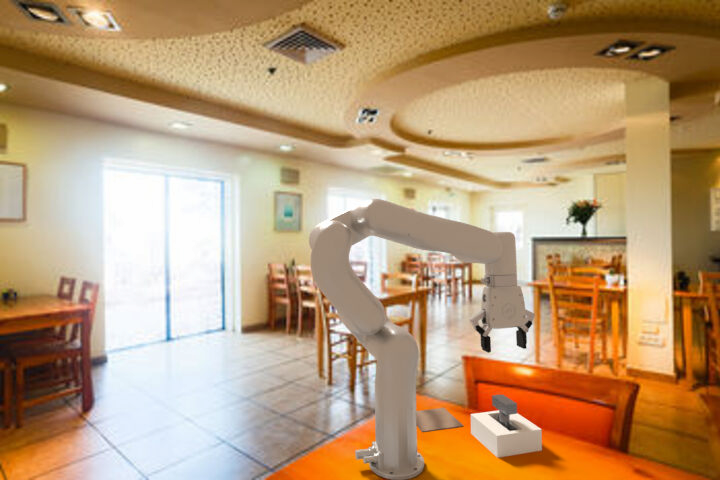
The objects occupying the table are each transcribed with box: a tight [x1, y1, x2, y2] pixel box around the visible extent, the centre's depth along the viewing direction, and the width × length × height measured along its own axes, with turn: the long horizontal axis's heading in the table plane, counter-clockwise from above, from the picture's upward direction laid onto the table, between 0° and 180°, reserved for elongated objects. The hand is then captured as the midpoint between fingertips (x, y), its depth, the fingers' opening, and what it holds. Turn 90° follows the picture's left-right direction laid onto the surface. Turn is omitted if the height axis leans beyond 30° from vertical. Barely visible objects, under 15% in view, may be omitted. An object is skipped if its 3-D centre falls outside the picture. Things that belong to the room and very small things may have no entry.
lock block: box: [470, 409, 543, 458], centre depth 98 cm, size 12×12×6 cm
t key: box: [491, 393, 518, 431], centre depth 98 cm, size 8×6×10 cm
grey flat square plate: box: [416, 407, 464, 433], centre depth 111 cm, size 12×12×1 cm
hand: (504, 349), depth 98 cm, fingers open, 9 cm apart
